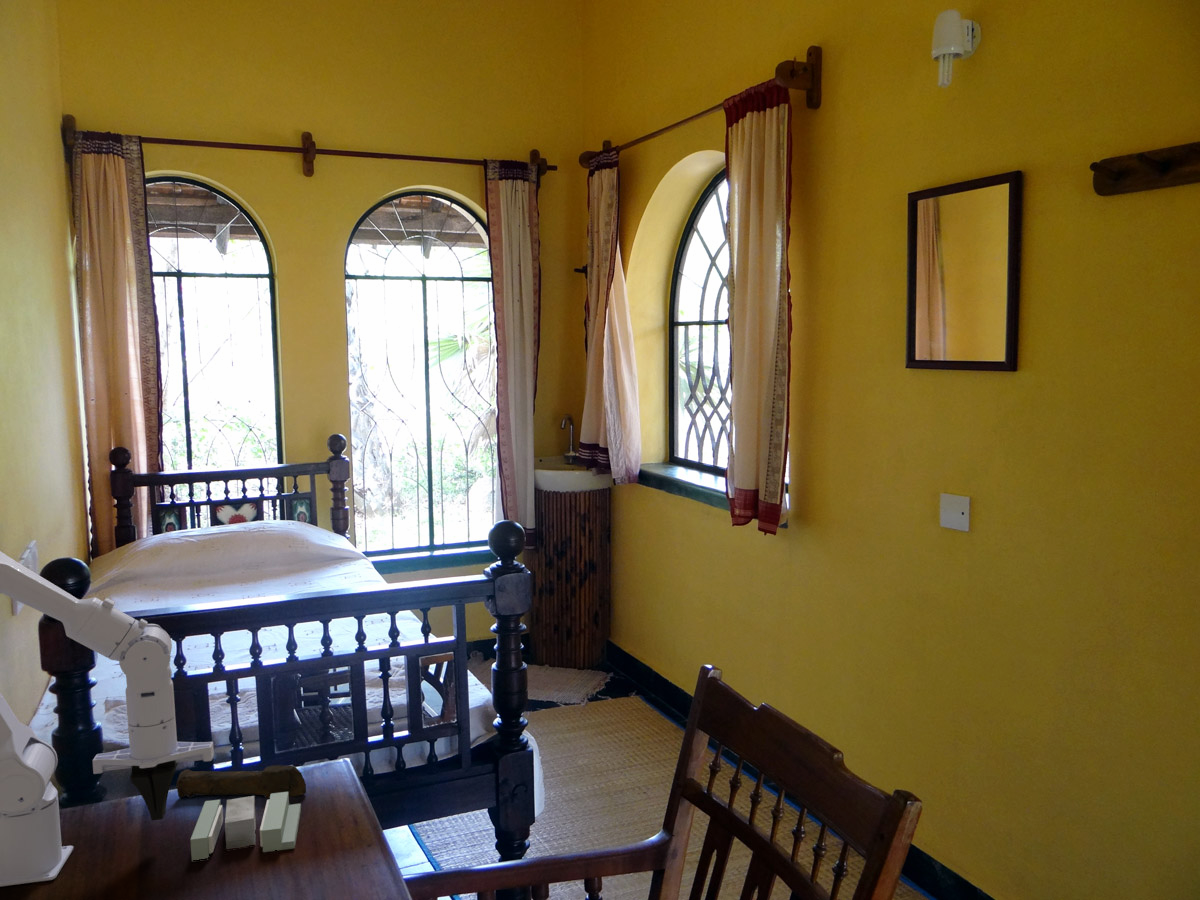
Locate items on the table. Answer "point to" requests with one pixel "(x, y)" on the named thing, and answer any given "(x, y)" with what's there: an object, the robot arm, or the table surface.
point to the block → (240, 822)
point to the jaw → (207, 830)
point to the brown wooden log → (242, 782)
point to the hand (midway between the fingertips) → (158, 816)
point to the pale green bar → (279, 823)
